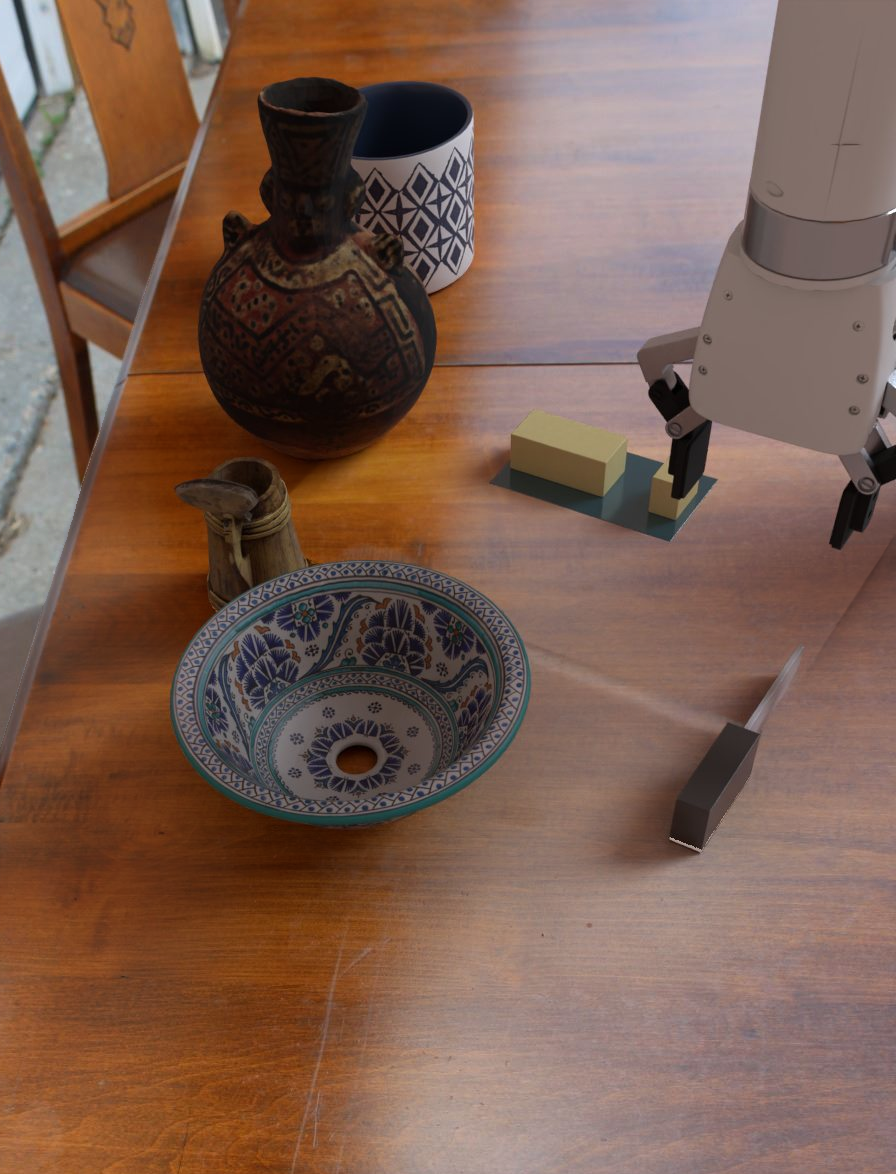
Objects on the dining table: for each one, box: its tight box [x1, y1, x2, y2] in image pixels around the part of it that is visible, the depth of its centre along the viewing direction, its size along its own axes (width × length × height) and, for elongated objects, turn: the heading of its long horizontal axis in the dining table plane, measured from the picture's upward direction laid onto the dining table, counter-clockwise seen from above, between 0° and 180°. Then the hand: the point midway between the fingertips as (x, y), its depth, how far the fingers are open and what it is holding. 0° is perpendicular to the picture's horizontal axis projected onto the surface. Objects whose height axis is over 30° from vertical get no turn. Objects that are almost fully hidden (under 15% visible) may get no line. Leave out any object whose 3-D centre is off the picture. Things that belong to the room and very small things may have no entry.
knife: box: [668, 643, 805, 850], centre depth 94 cm, size 18×2×4 cm, turn 145°
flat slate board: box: [489, 451, 719, 543], centre depth 114 cm, size 17×9×1 cm, turn 55°
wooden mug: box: [173, 456, 309, 611], centre depth 104 cm, size 9×14×18 cm, turn 169°
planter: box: [351, 80, 475, 295], centre depth 134 cm, size 16×16×14 cm
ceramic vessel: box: [197, 76, 438, 461], centre depth 111 cm, size 21×18×30 cm
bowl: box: [169, 559, 532, 830], centre depth 95 cm, size 25×25×10 cm
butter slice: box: [649, 455, 699, 520], centre depth 110 cm, size 2×4×4 cm, turn 145°
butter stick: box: [509, 408, 629, 497], centre depth 114 cm, size 9×4×4 cm, turn 55°
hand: (763, 509), depth 78 cm, fingers open, 9 cm apart
